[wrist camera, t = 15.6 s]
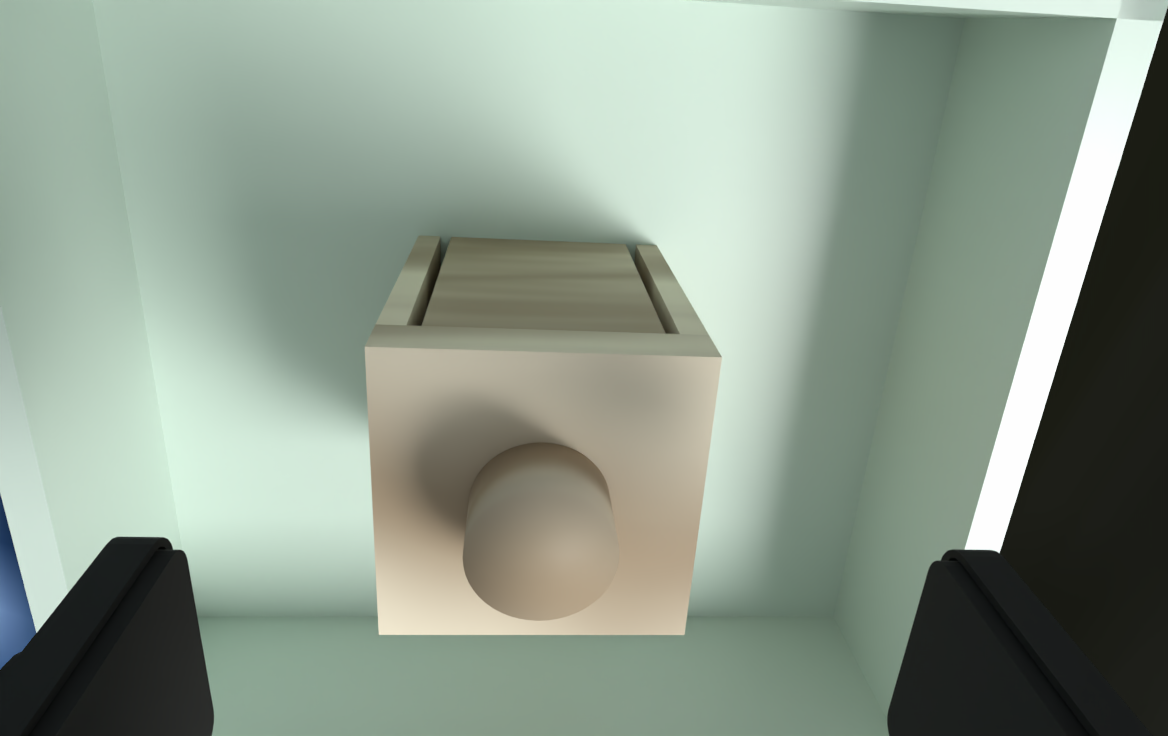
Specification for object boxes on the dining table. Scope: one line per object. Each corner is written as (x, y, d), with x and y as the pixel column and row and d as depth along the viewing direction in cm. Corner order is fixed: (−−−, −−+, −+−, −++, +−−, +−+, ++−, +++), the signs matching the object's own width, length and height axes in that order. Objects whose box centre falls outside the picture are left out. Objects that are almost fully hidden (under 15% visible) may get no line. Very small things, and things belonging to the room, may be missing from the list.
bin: (985, -18, 19) (1179, -33, 13) (842, 615, 26) (929, 779, 20) (61, -81, 17) (-162, -129, 11) (181, 615, 24) (78, 793, 18)
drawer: (418, 235, 19) (345, 386, 11) (656, 245, 19) (745, 397, 12) (423, 447, 21) (364, 698, 13) (636, 451, 22) (700, 696, 14)
